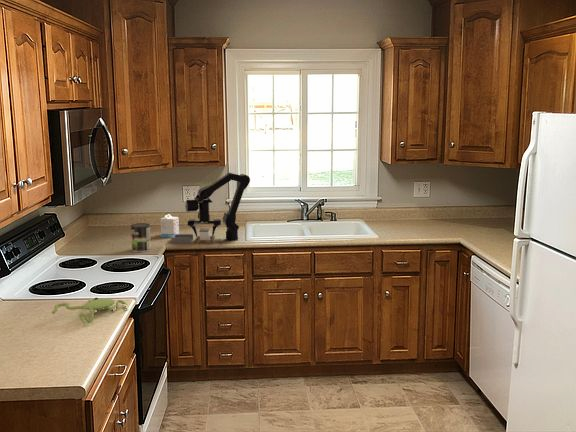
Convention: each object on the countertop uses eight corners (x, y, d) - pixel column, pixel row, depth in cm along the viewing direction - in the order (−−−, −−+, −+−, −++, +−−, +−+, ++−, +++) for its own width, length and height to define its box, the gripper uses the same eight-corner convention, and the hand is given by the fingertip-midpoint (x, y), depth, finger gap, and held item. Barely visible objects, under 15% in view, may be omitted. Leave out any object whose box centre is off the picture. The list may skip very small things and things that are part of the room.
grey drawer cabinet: (193, 239, 362) (193, 233, 362) (190, 243, 352) (190, 237, 351) (174, 239, 362) (174, 234, 362) (171, 244, 352) (171, 238, 351)
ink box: (174, 238, 366) (173, 216, 363) (160, 238, 367) (159, 215, 365) (179, 235, 374) (178, 213, 372) (166, 234, 376) (165, 213, 373)
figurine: (46, 320, 232) (45, 306, 231) (102, 300, 254) (101, 287, 253) (79, 330, 222) (78, 315, 221) (134, 308, 244) (133, 295, 243)
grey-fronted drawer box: (210, 239, 361) (209, 228, 360) (208, 242, 354) (208, 230, 352) (201, 239, 361) (200, 228, 360) (199, 242, 354) (199, 230, 352)
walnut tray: (214, 239, 363) (214, 236, 363) (212, 244, 352) (212, 240, 351) (197, 239, 363) (197, 236, 363) (194, 244, 351) (194, 240, 351)
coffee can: (139, 253, 331) (138, 227, 328) (128, 250, 338) (126, 225, 335) (155, 249, 339) (153, 224, 336) (143, 246, 345) (142, 222, 343)
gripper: (221, 207, 362) (222, 233, 365) (189, 208, 362) (190, 234, 365) (219, 211, 351) (220, 238, 354) (187, 211, 351) (187, 238, 354)
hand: (204, 236), depth 357 cm, fingers open, 9 cm apart
